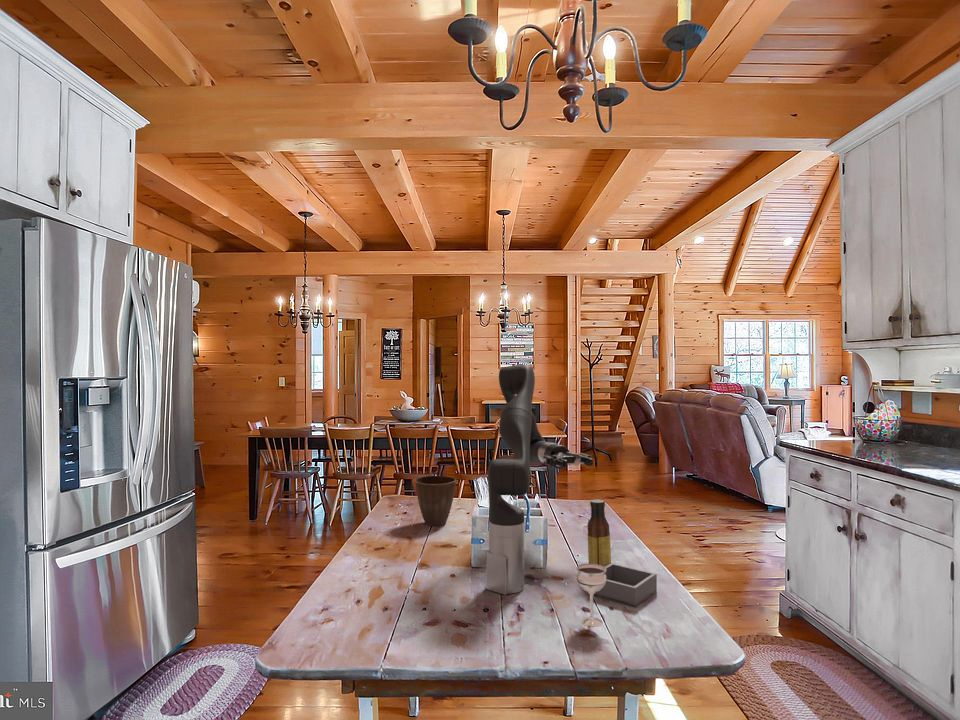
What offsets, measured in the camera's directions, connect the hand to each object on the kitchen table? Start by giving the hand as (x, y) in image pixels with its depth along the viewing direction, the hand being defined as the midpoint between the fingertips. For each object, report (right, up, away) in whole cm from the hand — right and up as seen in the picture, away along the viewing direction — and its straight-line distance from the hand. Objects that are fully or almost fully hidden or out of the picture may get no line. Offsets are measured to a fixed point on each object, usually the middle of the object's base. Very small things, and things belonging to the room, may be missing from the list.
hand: (579, 463), depth 177 cm
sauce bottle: (+4, -29, -11) cm, 31 cm away
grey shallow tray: (+7, -28, -26) cm, 39 cm away
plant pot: (-46, -29, +38) cm, 66 cm away
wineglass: (-4, -29, -43) cm, 51 cm away
